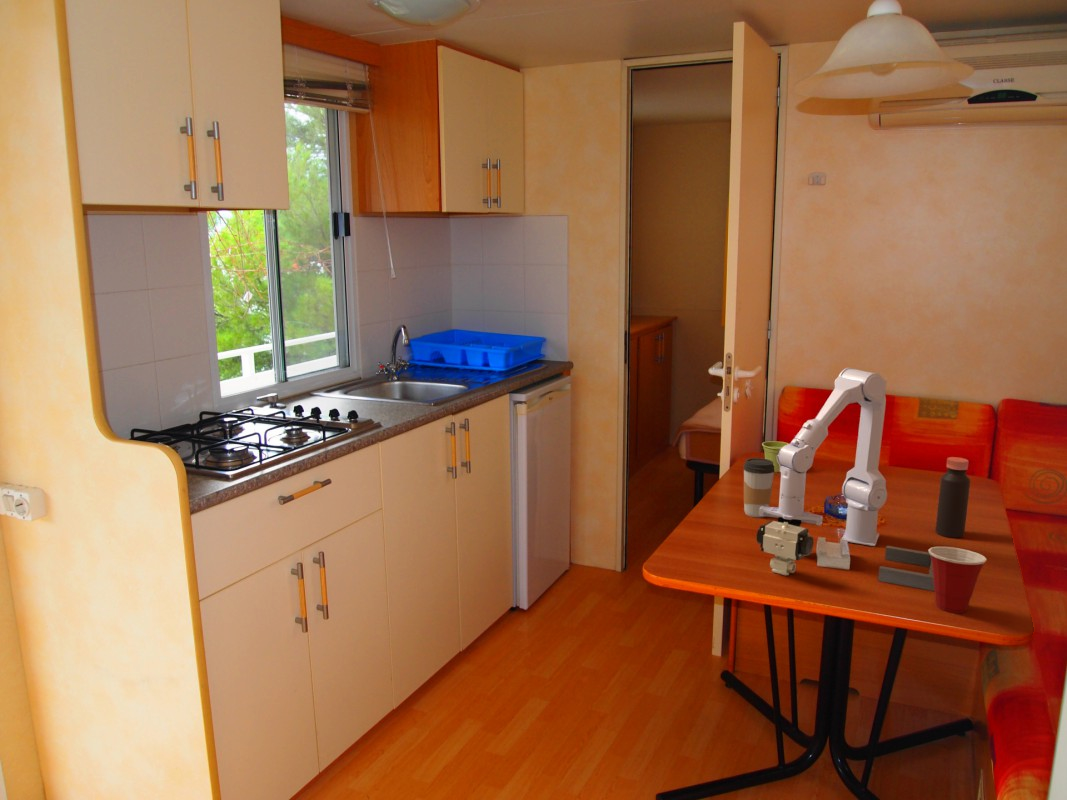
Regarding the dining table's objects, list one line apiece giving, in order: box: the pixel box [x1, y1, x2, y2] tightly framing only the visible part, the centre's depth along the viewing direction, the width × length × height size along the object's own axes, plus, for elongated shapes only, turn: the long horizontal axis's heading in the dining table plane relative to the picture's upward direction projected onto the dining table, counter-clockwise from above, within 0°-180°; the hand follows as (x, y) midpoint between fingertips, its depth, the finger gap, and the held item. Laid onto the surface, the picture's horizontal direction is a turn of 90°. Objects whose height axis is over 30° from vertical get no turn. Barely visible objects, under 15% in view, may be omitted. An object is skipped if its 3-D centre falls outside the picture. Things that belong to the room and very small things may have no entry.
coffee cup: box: [743, 457, 775, 518], centre depth 234 cm, size 8×8×15 cm
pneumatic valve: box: [756, 520, 814, 577], centre depth 193 cm, size 6×12×12 cm, turn 51°
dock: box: [877, 545, 935, 592], centre depth 194 cm, size 16×12×3 cm
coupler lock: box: [816, 536, 851, 571], centre depth 202 cm, size 10×7×4 cm
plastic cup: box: [927, 546, 987, 614], centre depth 176 cm, size 11×11×12 cm
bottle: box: [934, 456, 971, 539], centre depth 219 cm, size 7×7×20 cm
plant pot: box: [761, 440, 790, 473], centre depth 278 cm, size 9×9×9 cm
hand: (788, 548), depth 207 cm, fingers closed
